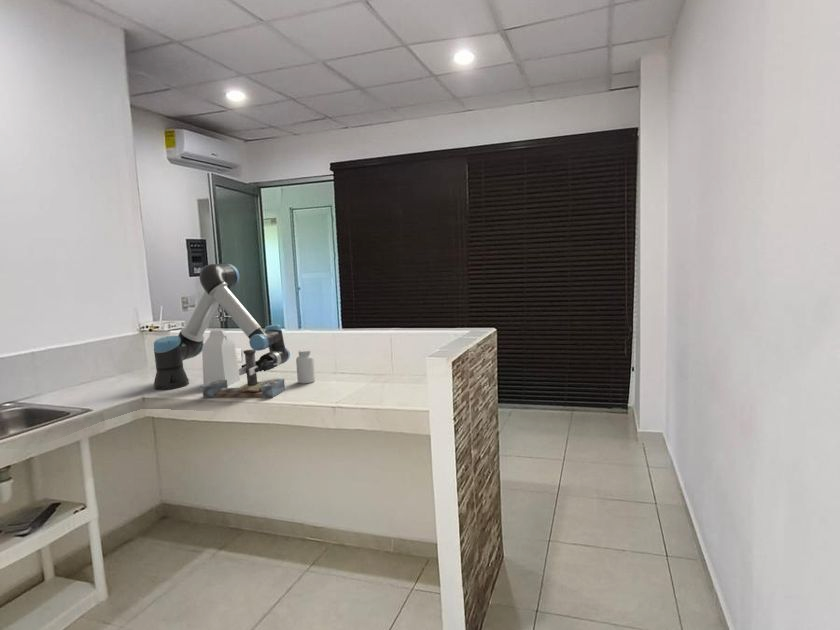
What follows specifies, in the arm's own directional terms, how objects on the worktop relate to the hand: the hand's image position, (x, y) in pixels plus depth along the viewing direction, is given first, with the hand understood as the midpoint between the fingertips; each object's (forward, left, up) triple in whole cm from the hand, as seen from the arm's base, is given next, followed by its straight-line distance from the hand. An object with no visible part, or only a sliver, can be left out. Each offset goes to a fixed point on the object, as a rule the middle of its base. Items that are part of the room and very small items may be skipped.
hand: (245, 372), depth 215 cm
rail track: (-4, +5, -11) cm, 13 cm away
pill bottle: (+16, +26, -11) cm, 33 cm away
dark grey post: (0, +5, -9) cm, 11 cm away
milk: (-26, +24, -11) cm, 37 cm away
